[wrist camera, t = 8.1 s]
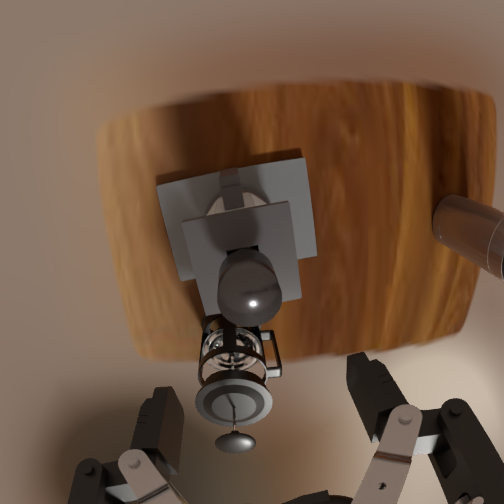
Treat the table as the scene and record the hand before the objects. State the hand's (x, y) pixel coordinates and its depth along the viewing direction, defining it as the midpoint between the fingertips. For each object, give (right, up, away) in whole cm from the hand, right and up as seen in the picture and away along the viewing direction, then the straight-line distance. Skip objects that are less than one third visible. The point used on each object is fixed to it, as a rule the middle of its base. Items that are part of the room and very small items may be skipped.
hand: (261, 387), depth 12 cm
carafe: (-2, +11, +27) cm, 30 cm away
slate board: (-2, +11, +29) cm, 31 cm away
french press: (-3, -6, +35) cm, 36 cm away
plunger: (-2, +8, +22) cm, 23 cm away
